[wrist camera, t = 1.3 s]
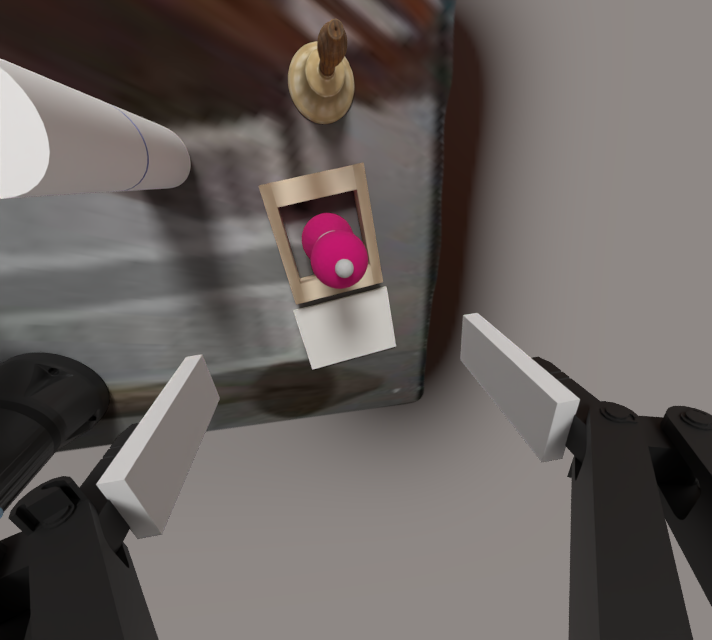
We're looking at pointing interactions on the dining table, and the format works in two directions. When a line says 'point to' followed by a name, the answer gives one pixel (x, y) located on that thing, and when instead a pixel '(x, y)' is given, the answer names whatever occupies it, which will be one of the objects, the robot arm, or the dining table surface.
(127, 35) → the dining table surface
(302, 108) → the hand bell
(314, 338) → the plastic pad
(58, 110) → the cylindrical container
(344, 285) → the pepper mill
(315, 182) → the maple frame
